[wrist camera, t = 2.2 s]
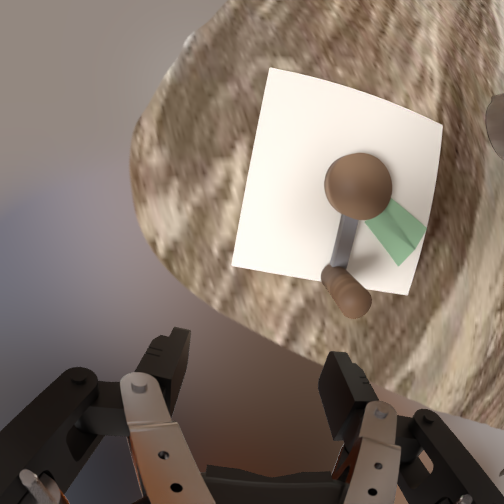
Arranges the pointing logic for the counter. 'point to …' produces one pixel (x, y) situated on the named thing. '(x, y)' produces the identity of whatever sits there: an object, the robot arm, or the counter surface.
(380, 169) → the crank handle
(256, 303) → the counter surface
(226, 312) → the counter surface
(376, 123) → the white square slab
